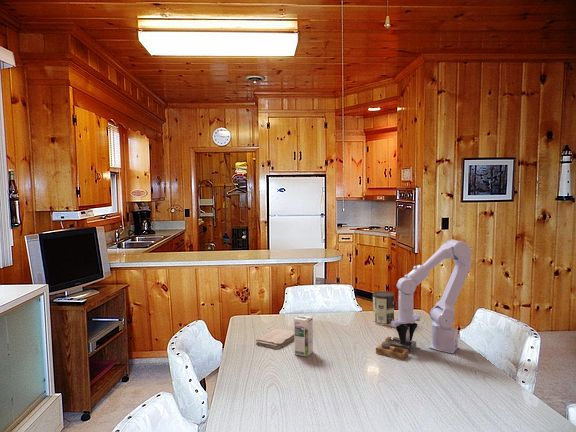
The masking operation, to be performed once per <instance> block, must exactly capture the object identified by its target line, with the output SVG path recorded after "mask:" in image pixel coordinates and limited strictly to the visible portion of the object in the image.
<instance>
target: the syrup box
mask: <svg viewBox="0 0 576 432" xmlns="http://www.w3.org/2000/svg"><path fill="white" fill-rule="evenodd" d="M313 318H314V317H313V316H308V315H301V314H299V315H298V316H296V317H295V318H294V319H293V326H294V327H293V331H294V340H293V341H294V355H295V356H302V357H305V358H308V357H310V356H311V354H312V353H313V352H314V345H313V344H314V342H313V340H314V339H313V337H314V334H313V332H314V329H313V328H314V327H313V326H314V325H313V324H314V322H313V321H314V320H313Z"/></svg>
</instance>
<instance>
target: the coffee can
mask: <svg viewBox="0 0 576 432" xmlns="http://www.w3.org/2000/svg"><path fill="white" fill-rule="evenodd" d="M372 318H373V319H372V323H373V324H375V325H378V326H382V327H383V326H384V327H386V326H387V327H388V326H391V321H394V320H395V293H393V292H390V291H375V292H373V293H372Z"/></svg>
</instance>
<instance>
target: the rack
mask: <svg viewBox="0 0 576 432" xmlns="http://www.w3.org/2000/svg"><path fill="white" fill-rule="evenodd" d="M375 354H378V355H381V356H385V357H388V358H389V357H390V358H392V359H396V360H397V359H398V360H401V361H404V360H405V359H406V358H407V357H408V356H409V353H408V350H405V349H401V348H397V347H393V346H390V343H389V342H385V341H382V342H381V343H380V344H379V345H378V346H376V347H375Z"/></svg>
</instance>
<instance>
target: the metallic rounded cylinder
mask: <svg viewBox="0 0 576 432" xmlns="http://www.w3.org/2000/svg"><path fill="white" fill-rule="evenodd" d="M405 327H408V330H407V333H406V342H405V343H402V344H403V345H408V346H410V326H407V325H405Z"/></svg>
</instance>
